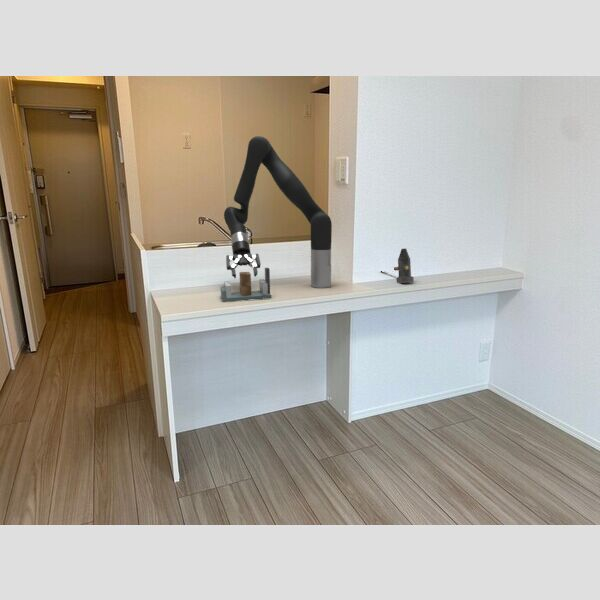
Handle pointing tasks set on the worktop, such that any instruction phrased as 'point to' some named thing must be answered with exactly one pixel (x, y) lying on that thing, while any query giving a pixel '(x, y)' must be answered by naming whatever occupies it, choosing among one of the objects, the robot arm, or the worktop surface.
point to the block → (245, 283)
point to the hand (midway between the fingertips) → (245, 276)
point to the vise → (239, 294)
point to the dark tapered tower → (404, 267)
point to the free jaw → (265, 283)
